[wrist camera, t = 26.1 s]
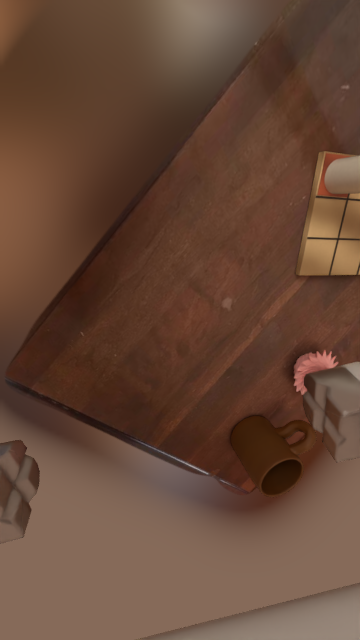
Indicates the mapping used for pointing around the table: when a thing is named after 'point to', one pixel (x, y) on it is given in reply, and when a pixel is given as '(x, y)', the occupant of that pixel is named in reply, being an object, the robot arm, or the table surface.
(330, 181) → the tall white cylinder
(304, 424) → the mug
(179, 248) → the table surface
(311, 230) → the board
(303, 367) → the flower
